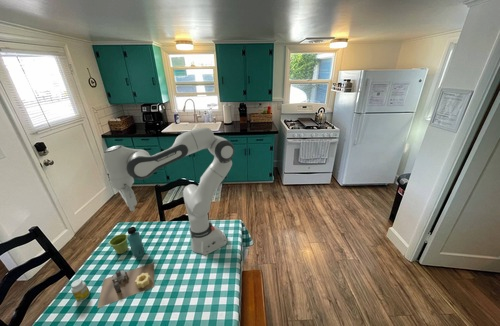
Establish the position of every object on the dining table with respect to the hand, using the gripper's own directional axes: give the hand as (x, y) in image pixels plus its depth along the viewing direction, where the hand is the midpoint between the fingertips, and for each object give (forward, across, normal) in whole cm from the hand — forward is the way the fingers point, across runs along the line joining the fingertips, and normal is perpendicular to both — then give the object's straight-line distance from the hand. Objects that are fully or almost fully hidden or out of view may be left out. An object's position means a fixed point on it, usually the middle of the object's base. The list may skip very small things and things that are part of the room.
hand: (130, 206), depth 98 cm
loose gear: (+39, -10, +5) cm, 41 cm away
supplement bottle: (+41, +4, +29) cm, 50 cm away
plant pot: (+41, +24, +8) cm, 48 cm away
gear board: (+40, -5, +11) cm, 42 cm away
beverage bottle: (+41, +12, +1) cm, 42 cm away
